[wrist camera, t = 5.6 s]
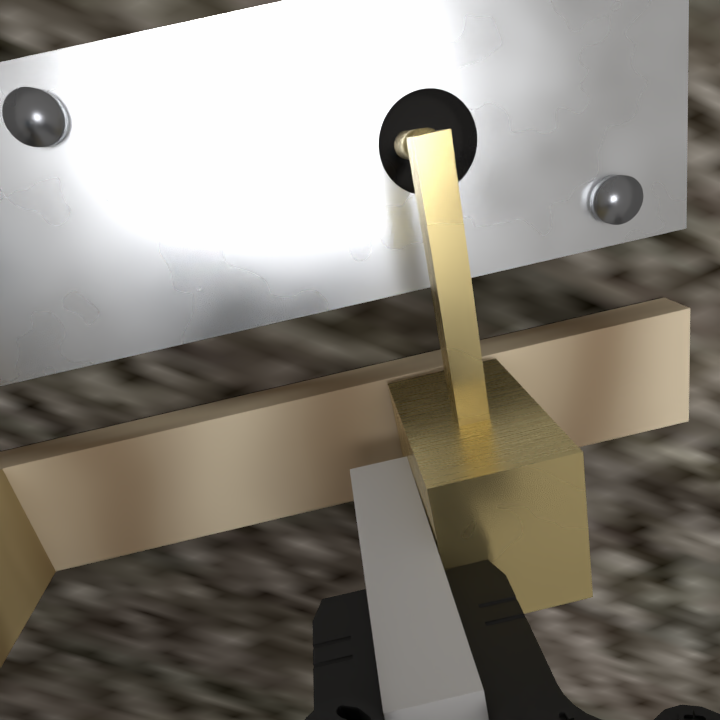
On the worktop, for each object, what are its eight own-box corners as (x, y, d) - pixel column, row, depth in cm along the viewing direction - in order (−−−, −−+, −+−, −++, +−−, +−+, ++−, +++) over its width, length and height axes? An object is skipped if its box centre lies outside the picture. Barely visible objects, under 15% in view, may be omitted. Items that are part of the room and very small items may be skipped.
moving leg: (410, 493, 16) (454, 631, 12) (338, 145, 13) (360, 144, 8) (509, 469, 16) (592, 597, 12) (465, 117, 13) (559, 100, 8)
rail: (-14, 564, 18) (-168, 768, 12) (-189, 262, 14) (-531, 344, 8) (664, 404, 18) (837, 525, 12) (662, 72, 14) (906, 21, 9)
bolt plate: (-109, 400, 15) (-147, 424, 14) (-265, 131, 13) (-329, 129, 12) (663, 223, 16) (696, 230, 15) (662, -72, 13) (701, -96, 12)
